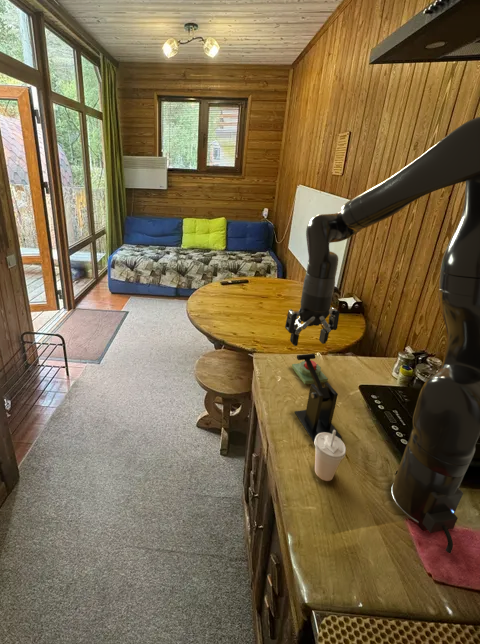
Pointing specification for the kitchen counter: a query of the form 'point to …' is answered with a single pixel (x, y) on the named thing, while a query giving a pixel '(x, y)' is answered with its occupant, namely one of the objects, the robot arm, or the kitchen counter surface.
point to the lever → (314, 375)
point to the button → (312, 364)
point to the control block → (308, 373)
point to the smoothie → (328, 454)
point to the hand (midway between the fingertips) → (308, 343)
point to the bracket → (318, 412)
